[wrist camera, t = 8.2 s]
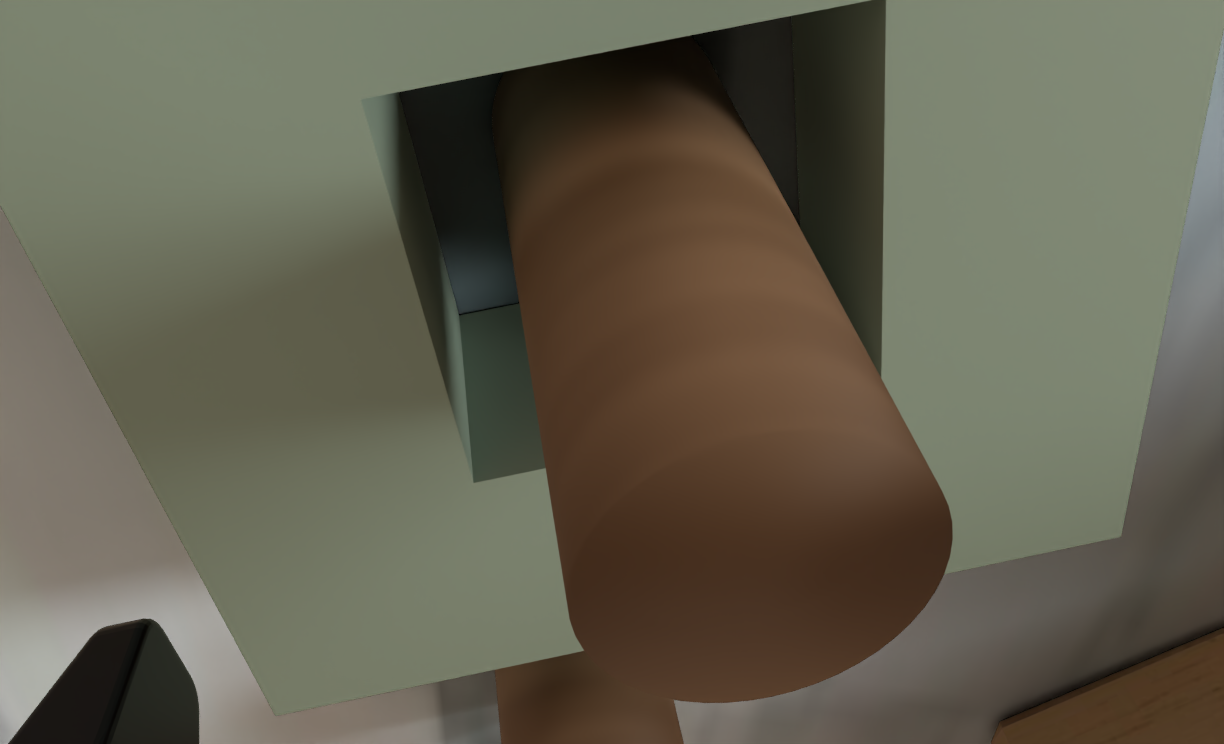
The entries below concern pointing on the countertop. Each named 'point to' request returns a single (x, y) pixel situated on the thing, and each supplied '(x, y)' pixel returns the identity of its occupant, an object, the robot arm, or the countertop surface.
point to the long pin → (700, 392)
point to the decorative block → (1136, 704)
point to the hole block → (494, 339)
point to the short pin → (579, 706)
